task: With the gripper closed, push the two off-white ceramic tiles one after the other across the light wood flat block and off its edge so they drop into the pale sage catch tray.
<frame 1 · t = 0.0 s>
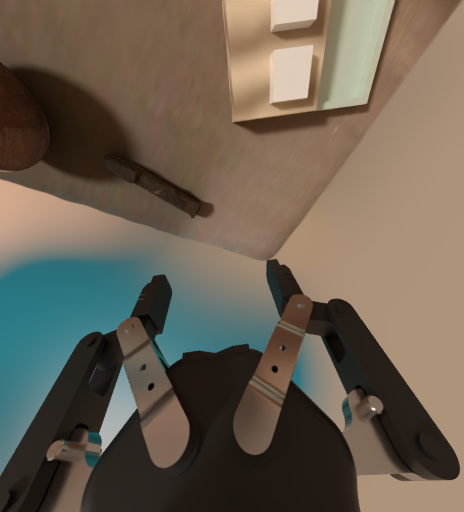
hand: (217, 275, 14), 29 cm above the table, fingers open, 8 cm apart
hand tool: (158, 186, 37), on the table
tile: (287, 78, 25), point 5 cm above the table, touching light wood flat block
wooden sphere: (19, 113, 28), on the table
catch tray: (347, 31, 26), on the table
light wood flat block: (268, 41, 26), on the table
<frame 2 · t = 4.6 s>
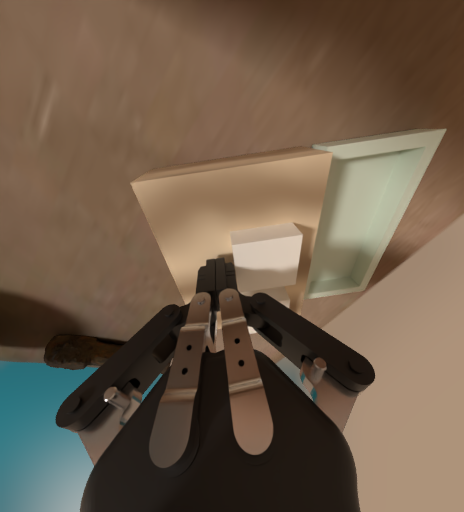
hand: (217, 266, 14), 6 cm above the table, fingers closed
hand tool: (120, 343, 32), on the table
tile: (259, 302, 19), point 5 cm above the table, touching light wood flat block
catch tray: (337, 229, 20), on the table
light wood flat block: (237, 244, 20), on the table
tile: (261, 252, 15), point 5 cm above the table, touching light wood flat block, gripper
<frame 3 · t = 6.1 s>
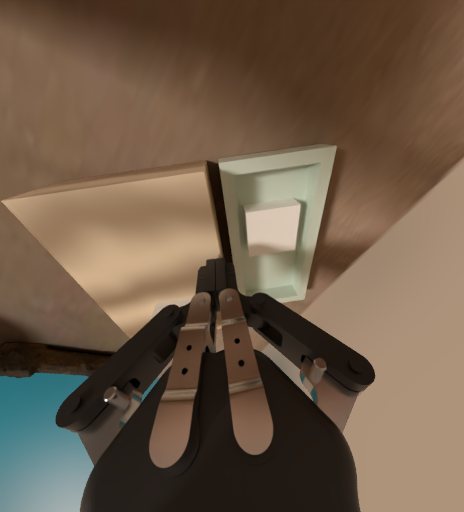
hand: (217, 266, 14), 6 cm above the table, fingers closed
hand tool: (75, 350, 32), on the table
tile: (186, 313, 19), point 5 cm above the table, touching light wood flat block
catch tray: (268, 239, 20), on the table
light wood flat block: (167, 253, 20), on the table
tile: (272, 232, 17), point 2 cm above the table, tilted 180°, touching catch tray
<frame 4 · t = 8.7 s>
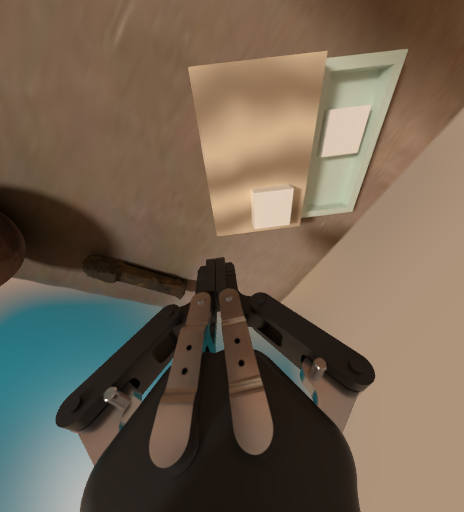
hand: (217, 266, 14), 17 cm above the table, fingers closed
hand tool: (142, 271, 36), on the table
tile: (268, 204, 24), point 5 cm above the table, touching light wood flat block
catch tray: (331, 151, 25), on the table
light wood flat block: (251, 160, 25), on the table
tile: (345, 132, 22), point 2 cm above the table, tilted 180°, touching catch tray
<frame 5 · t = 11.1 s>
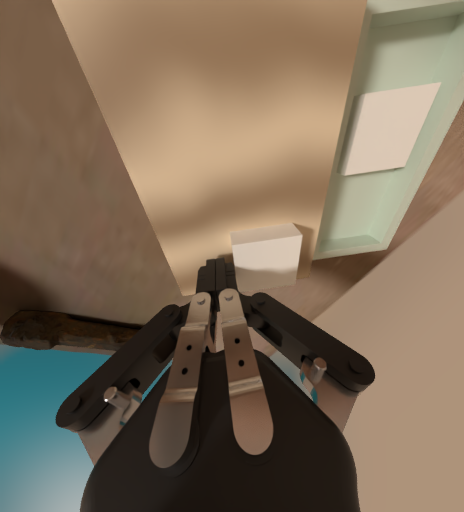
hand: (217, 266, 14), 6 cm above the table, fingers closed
hand tool: (99, 323, 27), on the table
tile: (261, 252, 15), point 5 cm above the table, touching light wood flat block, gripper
catch tray: (357, 163, 16), on the table
light wood flat block: (231, 181, 16), on the table
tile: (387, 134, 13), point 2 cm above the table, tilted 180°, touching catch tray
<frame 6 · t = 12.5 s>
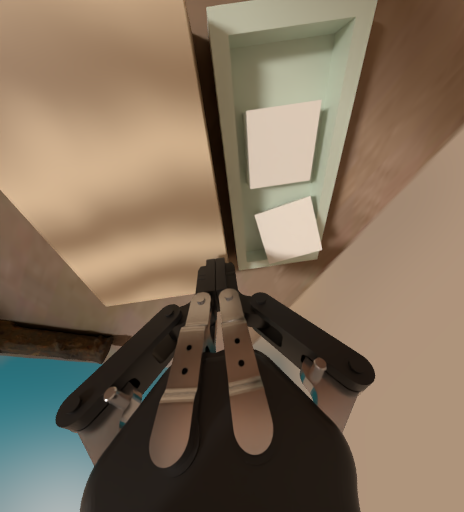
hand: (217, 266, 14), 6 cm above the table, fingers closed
hand tool: (49, 329, 27), on the table
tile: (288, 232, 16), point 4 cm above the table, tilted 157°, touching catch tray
catch tray: (274, 175, 16), on the table
light wood flat block: (148, 193, 16), on the table
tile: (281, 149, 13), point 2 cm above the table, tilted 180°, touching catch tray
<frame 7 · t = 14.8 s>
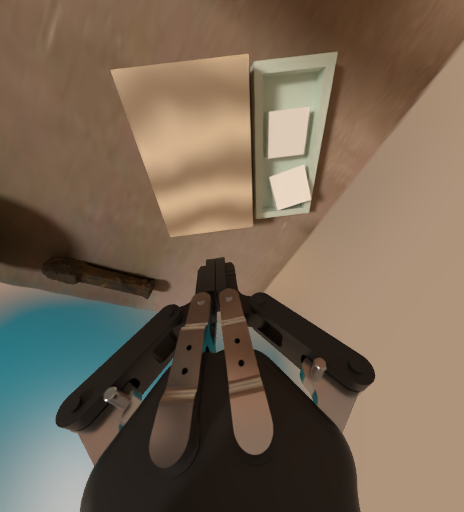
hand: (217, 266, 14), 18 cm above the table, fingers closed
hand tool: (109, 272, 36), on the table
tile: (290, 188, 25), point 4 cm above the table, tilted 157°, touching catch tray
catch tray: (282, 152, 25), on the table
light wood flat block: (202, 162, 25), on the table
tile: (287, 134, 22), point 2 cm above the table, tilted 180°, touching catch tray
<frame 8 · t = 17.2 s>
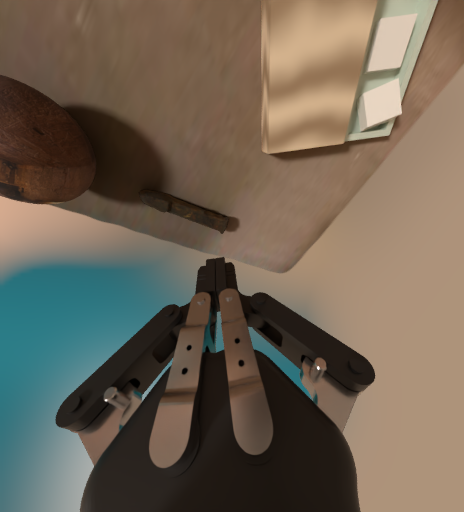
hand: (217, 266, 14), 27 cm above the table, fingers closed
hand tool: (187, 209, 39), on the table
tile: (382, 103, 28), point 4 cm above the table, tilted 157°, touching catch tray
wooden sphere: (66, 144, 30), on the table
catch tray: (373, 71, 28), on the table
light wood flat block: (301, 81, 28), on the table
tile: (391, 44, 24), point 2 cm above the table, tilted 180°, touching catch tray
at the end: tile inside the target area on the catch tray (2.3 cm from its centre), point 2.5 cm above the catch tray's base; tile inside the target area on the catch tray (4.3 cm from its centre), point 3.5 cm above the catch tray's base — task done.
